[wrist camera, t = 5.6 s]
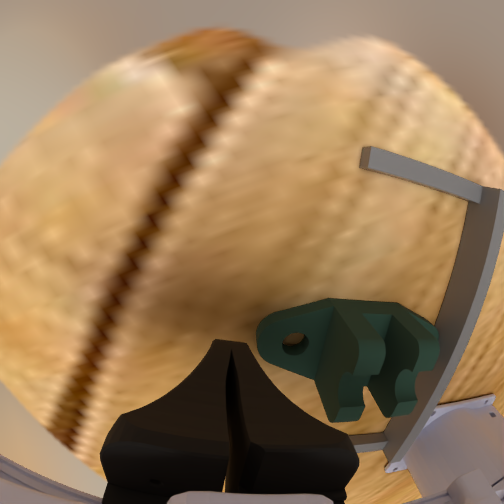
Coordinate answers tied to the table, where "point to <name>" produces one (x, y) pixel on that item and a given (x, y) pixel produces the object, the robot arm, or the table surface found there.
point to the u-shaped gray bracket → (457, 296)
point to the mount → (353, 352)
